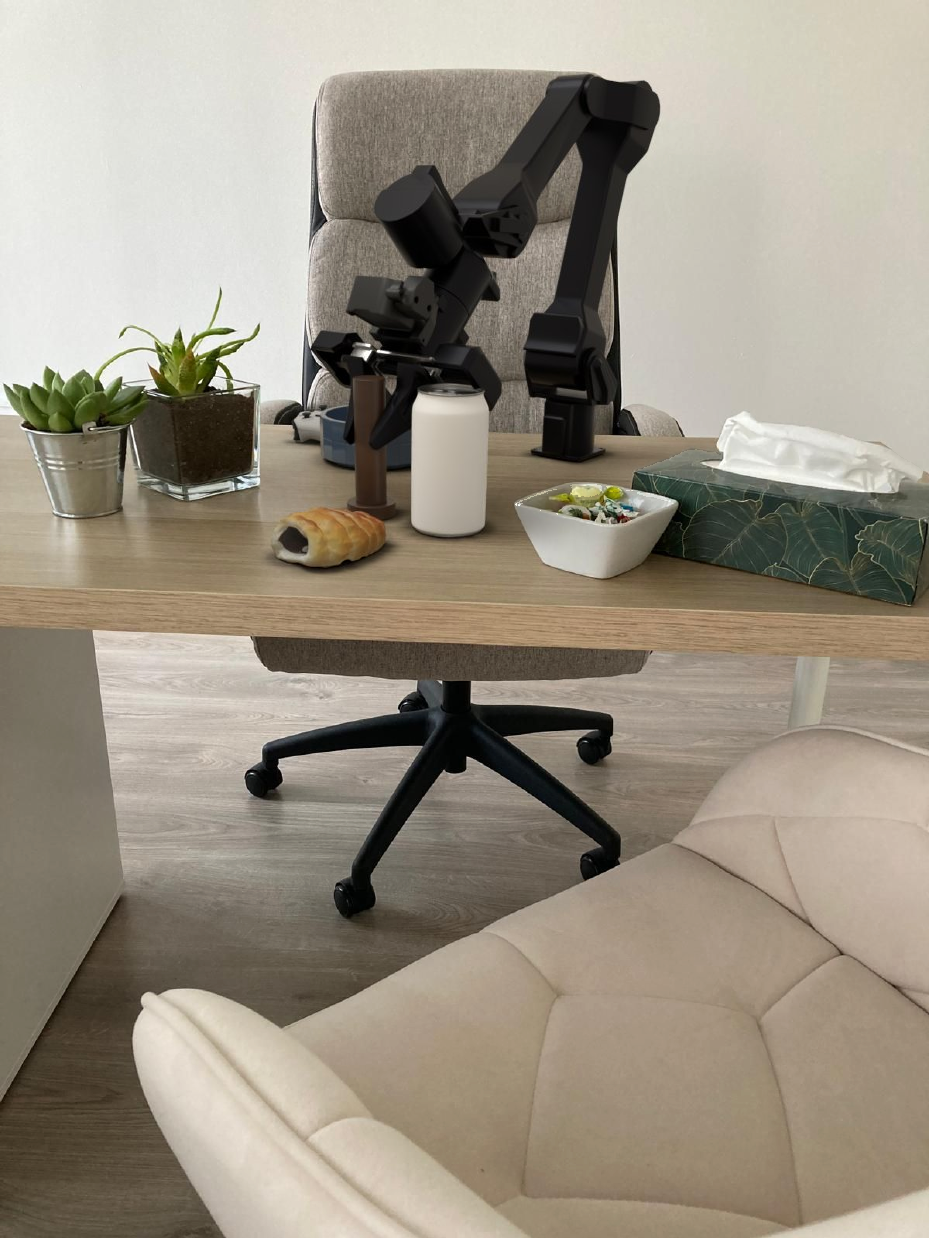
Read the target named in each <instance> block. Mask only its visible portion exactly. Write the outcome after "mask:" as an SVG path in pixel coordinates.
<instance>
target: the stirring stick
mask: <svg viewBox="0 0 929 1238" xmlns="http://www.w3.org/2000/svg"><path fill="white" fill-rule="evenodd" d="M386 385H387V384H386ZM386 385H385V377H383V376H375V375H363V376H355V377H353V401H354V444H355V468H354V478H355V480H354V481H355V496H353V497H350V498H348V500H346V510H349V511H350V512H352V513H353V512H355V511H361V512H365V513H368V514H369V515H370V516H372V517H375V518H377V519H378V520H380V521H384V520H388V519H391V518H393V517H395V516H396V514H397V501H396V499H394V498H393V497H390V496H388V483H387V482H388V481H387V480H388V477H387V475H388V473H387V470H388V469H387V468H386V445H385V446H383V447H382V448H380V449H379V450H374V449H372V447H371V446H370V445H369V440H370V438H371V435H372V433H373V430H374V428H375V426H376V424H377V422H378V420H379V418H380V417H381V415H382V413H383V411H384V409H385V407H386V388H387V387H386Z"/></svg>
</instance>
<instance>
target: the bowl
mask: <svg viewBox="0 0 929 1238" xmlns="http://www.w3.org/2000/svg"><path fill="white" fill-rule="evenodd" d="M348 405H349V404H346V405H345V404H344V405H338V406H333V407H328V408H326V410H324V411H322V412H321V413H320V441H319V442H320V443H319V444H320V455H321V456H322V458H324V459H325V460H328V461H330V462H333V463H334V464H337V465H339V466H341V467H346V468H353V469H355V444H354V443H353V444H352V445H348V444H347V443H346V442H345V441H344V439H343V433H344V427H345V421H346V416H347V410H348ZM407 467H412V429H410V430H408V431H407V432H405V433H404V434H402V435H401V436H399V437H398V438H396V439H394V440H393V441H391V442H390V443H388V444H387V445H386V468H387V470H394V469H403V468H407Z"/></svg>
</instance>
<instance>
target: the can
mask: <svg viewBox="0 0 929 1238" xmlns="http://www.w3.org/2000/svg"><path fill="white" fill-rule="evenodd" d="M417 390H418V396H417V398H416V400H415V402H414V404H413V408H412V466H410V467H411V475H410V476H411V477H410V479H411V481H410V482H411V485H410V486H411V489H410V491H411V492H410V493H411V494H410V498H411V501H410V503H411V504H410V507H411V508H410V509H411V511H410V513H411V515H410V516H411V525H412V526H413V527H414V529H415V531H417V532H419V533H420V534H423V535H425V536H431V537H436V538H448V539H449V538H451V539H452V538H465V537H469V536H473V535H476V534H478V533H480V532H481V531H482V529H483V528H484V527H485V524H486V510H487V507H486V506H487V486H488V485H487V483H488V455H489V425H490V411H489V408H488V405H487V403H486V400H485V398H484V392H485V390H484V389H483V388H479V389H473V387H472V386H471V385H467V384H453V383H440V384H428V385H423V386H420V387H418V388H417Z"/></svg>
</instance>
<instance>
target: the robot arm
mask: <svg viewBox="0 0 929 1238" xmlns="http://www.w3.org/2000/svg"><path fill="white" fill-rule="evenodd" d="M660 116H661V101H660V97H659V95H658V94H657V92H655V91H654V90H653V87H652V86H651V84H650V83H649V82H648V81H646V80H644V79H643V80H629V81H616V80H610V79H607V78H604V77H601V76H596V75H595V74H593V73H582V74H581V73H580V74H566V75H558V76H557V77H556V78H552V79H551V80H550V81H549V82H548V84H547V86H546V89H545V95H544V97H543V99H542V100H541V101H540V103H539V104H538V106H537V107H536V109H535V110H534V111H533V113H532V114H531V116H530V117H529V119H528V120H527V122H526V123H525V124H524V125H523V127H522V128H521V130H520V132H519V133H518V134H517V136H516V137H515V139H514V140H513V142H512V143H511V144H510V146H509V147H508V148H507V149H506V152H505V153H504V154H503V156H502V157H501V159H500V160H499V162H498V163H497V164H496V165H495V166H494V167H493V168H492V169H490V170H489V171H487V172H485V173H483V174H481V175H479V176H477V177H475V178H473V179H471V180H470V181H469V182H468V183H467V184H466V185H464V187H463V188H462V189H461V190H459V192H458V193H456V194H455V195H454V197H453V198H452V196H451V195H450V193H449V191H448V190H447V188H446V186H445V184H444V180H443V179H442V175H441V174H440V172H439V170H438V168H437V166H436V165H435V164H416V165H415V167H414V168H413V170H412V172H411V173H409V174H406V175H404V176H402V177H400V178H399V179H396V180H394V182H392V183H391V184H390V185H389V186H388V187H386V188H385V189H382V190H381V191H380V192H379V193H378V195H377V197H376V199H375V201H374V205H373V209H374V210H373V211H374V214H375V217H376V218H377V220H378V221H379V224H381V226H382V228H383V229H384V231H385V232H386V234H387V235H388V237H389V239H390V240H391V241H392V244H393V245H394V247H395V248H396V249H397V251H398V253H399V254H400V256H401V257H402V259H403V260H404V262H405V264H406V265H407V266H409V267H410V268H413V269H416V270H421V269H425V270H424V271H423V273H422V274H421V275H410V274H409V275H408V276H407V277H406V278H405V279H404V281H403V280H402V279H393V278H389V277H386V276H371V275H360V274H359V275H355V276H354V279H353V283H352V286H351V291H350V294H349V298H348V301H347V305H346V307H345V313H346V314H347V315H348V316H351V317H357V318H358V319H360V320H362V321H364V322H365V323H367V324H369V325H370V326H371V328H370V329H369V331H368V333H369V335H370V336H371V337H372V339H373V340H374V341H375V342H379V343H380V345H381V346H380V347H379V349H378V348H376V346H375V345H373V344H370V343H367V342H366V343H365V341H364V340H363V339H362V337H361V336H360V335H359V333H358V332H357V331H349V330H341V329H331V328H329V329H321V330H320V331H319V333H317V335H316V337H315V339H314V340H313V342H312V344H311V345H310V351H311V353H313V355H314V356H315V357H316V358H317V359H318V361H319V362H320V363H321V364H322V366H323V367H324V368H325V369H326V370H327V372H328V373H329V374H330V375H331V376H332V378H333V380H335V381H336V382H337V384H338V385H340V386H342V387H343V388H345V389H349V400H348V404H347V405H348V410H347V416H346V421H345V427H344V433H343V439H344V441H345V442H346V443H347V444H348V445H352V444H353V443H354V401H353V377H355V376H363V375H375V376H383V377H385V385H387V383H388V378H389V377H391V378H396V380H395V381H396V383H395V389H394V391H393V392H392V393H391V392H390V391H389V389H388V388H387V387H386V407H385V409H384V411H383V413H382V415H381V417H380V418H379V420H378V422H377V424H376V426H375V428H374V430H373V433H372V435H371V438H370V440H369V445H370V446H371V447H372V449H374V450H379V449H380V448H382V447H383V446H385V445H387V444H388V443H390V442H391V441H393V440H394V439H396V438H398V437H399V436H401V435H402V434H404V433H405V432H407V431H408V430H410V429H412V408H413V404H414V402H415V400H416V398H417V396H418V390H417V388H418V387H420V386H423V385H428V384H440V383H453V384H467V385H471V386H472V387H473V389H479V388H483V389H484V390H485V392H484V398H485V400H486V403H487V405H488V408H489V412H492V411H493V410H494V408H495V407H496V405H497V403H498V401H499V399H500V398H501V396H502V394H503V382H502V379H501V378H500V376H499V375H498V373H497V371H496V370H495V368H494V367H493V365H492V363H491V362H490V360H489V359H488V357H487V356H486V354H485V352H484V351H483V349H482V347H481V346H479V345H470V344H467V343H468V341H469V339H470V336H469V334H468V333H467V331H466V330H465V327H466V326H467V324H468V322H469V321H470V319H471V317H473V316H472V315H473V314H474V312H475V310H476V309H477V307H478V305H479V304H480V303H481V301H484V302H495V303H497V302H499V301H500V300H501V288H500V286H499V284H498V281H497V280H498V279H497V277H498V276H497V275H498V274H497V272H496V271H494V270H491V268H490V266H489V265H488V263H487V261H486V260H485V258H486V259H505V260H511V259H514V260H515V259H516V258H518V257H520V255H521V254H522V253H523V252H524V250H525V249H526V247H527V245H528V243H529V241H530V238H531V237H532V234H533V232H534V230H535V228H536V226H537V224H538V221H539V216H538V215H539V214H538V201H539V199H540V197H541V195H542V193H543V191H544V190H545V188H546V187H547V186H548V184H549V182H550V181H551V180H552V178H553V177H554V175H555V173H556V172H557V171H558V169H559V167H560V166H561V164H562V163H563V161H564V160H565V158H566V157H567V156H568V154H569V152H571V149H572V148H573V147H574V145H575V146H576V149H577V152H578V156H579V158H580V161H581V170H580V175H579V180H578V183H577V189H576V192H575V197H574V203H573V207H572V211H571V217H570V222H569V227H568V231H567V235H566V240H565V245H564V250H563V254H562V259H561V264H560V269H559V273H558V278H557V283H556V287H555V292H554V297H553V300H552V302H551V303H550V305H549V306H548V307H547V308H546V309H545V310H544V311H543V312H538V311H537V312H536V311H535V312H533V314H532V315H531V317H530V319H529V324H528V333H527V336H526V340H525V343H524V344H523V346H522V350H523V351H524V353H523V358H522V359H523V361H522V362H523V370H524V375H525V379H526V380H525V381H526V387H527V391H528V397H529V398H532V399H537V398H538V399H545V400H544V402H543V403H544V405H543V406H544V407H543V417H542V435H541V437H542V438H541V445H539V446H536V447H533V448H530V454H532V455H538V456H543V457H544V456H545V457H550V458H555V459H560V460H566V461H572V462H581V461H585V460H587V459H590V458H593V457H596V456H599V455H601V454H605V453H606V450H607V448H605V447H601V446H596V445H595V436H596V424H597V423H596V421H597V406H609V405H611V403H612V402H614V401H615V397H616V393H617V389H618V380H617V378H616V377H615V374H614V372H613V370H612V368H611V367H610V364H609V361H608V360H607V358H606V356H605V353H606V345H607V336H606V333H605V329H604V327H603V323H602V321H601V316H600V314H599V307H600V303H601V298H602V293H603V288H604V285H605V279H606V276H607V271H608V266H609V262H610V256H611V252H612V248H613V243H614V238H615V234H616V229H617V225H618V220H619V216H620V211H621V205H622V203H623V202H622V201H623V197H624V192H625V189H626V184H627V179H628V176H629V175H630V174H631V172H632V171H633V170H634V169H635V167H636V166H637V165H639V163H640V162H641V160H642V159H643V158H644V157H645V156H646V154H648V152H649V149H650V145H651V143H652V140H653V136H654V133H655V130H656V127H657V125H658V122H659V121H660V118H661V117H660Z"/></svg>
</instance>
